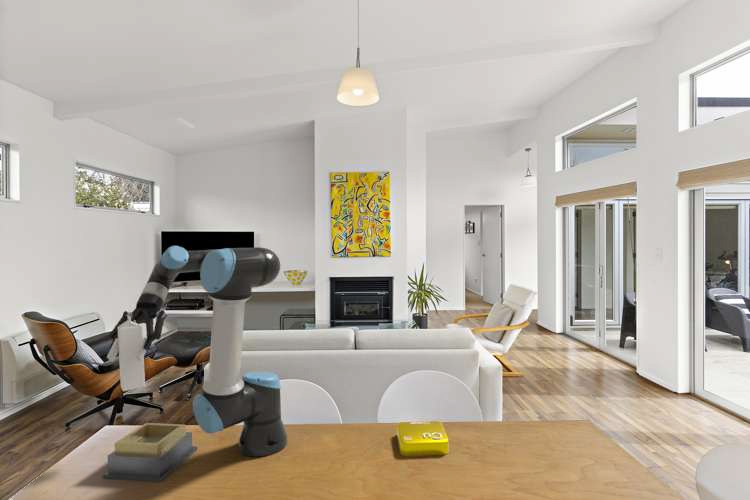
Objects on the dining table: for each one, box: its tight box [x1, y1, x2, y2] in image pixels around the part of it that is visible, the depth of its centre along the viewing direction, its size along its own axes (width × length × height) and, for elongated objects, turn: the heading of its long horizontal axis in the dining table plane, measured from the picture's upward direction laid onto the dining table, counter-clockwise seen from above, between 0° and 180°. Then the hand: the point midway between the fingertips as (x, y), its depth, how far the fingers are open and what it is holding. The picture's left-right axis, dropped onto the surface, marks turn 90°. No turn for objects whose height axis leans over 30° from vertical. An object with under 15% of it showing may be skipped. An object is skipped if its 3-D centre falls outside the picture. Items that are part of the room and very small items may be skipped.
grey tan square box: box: [102, 422, 198, 483], centre depth 128 cm, size 18×18×9 cm
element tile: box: [396, 420, 450, 457], centre depth 136 cm, size 15×15×5 cm
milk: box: [118, 316, 146, 392], centre depth 133 cm, size 6×6×22 cm
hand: (124, 358), depth 129 cm, fingers closed on milk, 8 cm apart
